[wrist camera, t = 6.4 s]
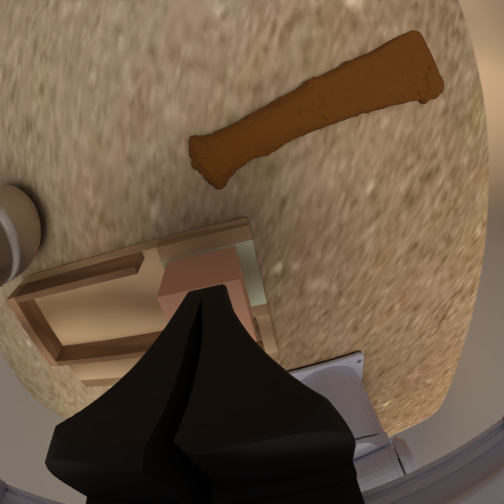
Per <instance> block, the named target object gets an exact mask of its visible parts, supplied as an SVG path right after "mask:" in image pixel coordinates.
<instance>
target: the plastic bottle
mask: <svg viewBox="0 0 504 504" xmlns="http://www.w3.org/2000/svg"><path fill="white" fill-rule="evenodd" d="M40 241H41V224H40V218H39V214H38V212H37V209H36V207H35V205H34V203H33V201H32V200H31V199H30V198H29V196H28V195H27V194H25V193H24V192H23V191H21V190H20V189H18V188H17V187H15V186H11V185H2V186H0V287H2V286H3V285H4V284H6V283H8V282H10V281H11V280H13V279H14V278H16V277H17V276H18V275H20V274H21V273H22V272H23V271H25V270H26V269H27V268H28V266H29V265H30V263H31V262H32V260H33V258H34V257H35V255H36V254H37V251H38V249H39V246H40Z"/></svg>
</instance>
